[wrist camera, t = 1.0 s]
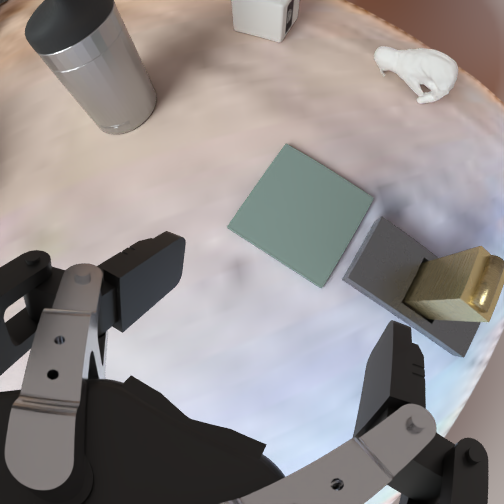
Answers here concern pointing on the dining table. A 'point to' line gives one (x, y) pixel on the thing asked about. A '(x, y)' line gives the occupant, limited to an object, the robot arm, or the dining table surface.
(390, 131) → the dining table surface
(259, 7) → the container
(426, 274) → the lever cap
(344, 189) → the mat
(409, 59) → the white humped figurine
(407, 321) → the plane body
